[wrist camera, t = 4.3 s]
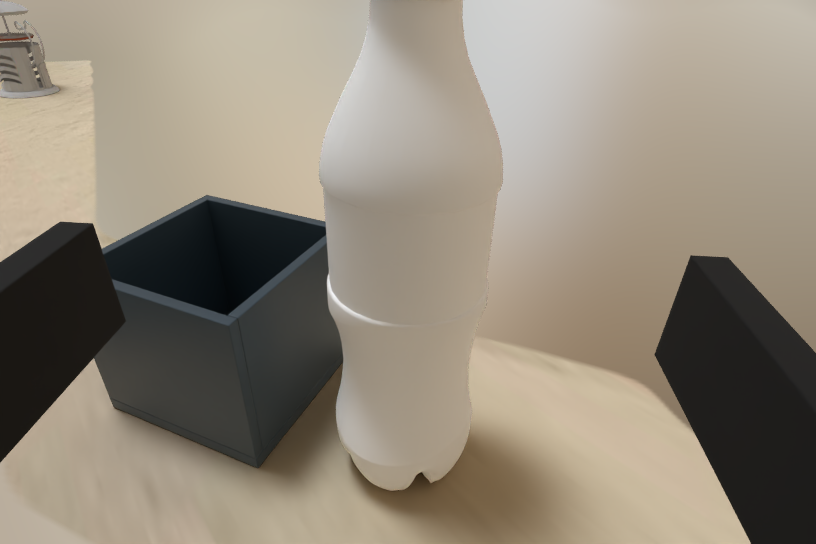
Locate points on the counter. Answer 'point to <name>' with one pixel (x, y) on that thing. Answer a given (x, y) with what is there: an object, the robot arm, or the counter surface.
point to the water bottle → (409, 239)
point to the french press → (22, 60)
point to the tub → (222, 324)
